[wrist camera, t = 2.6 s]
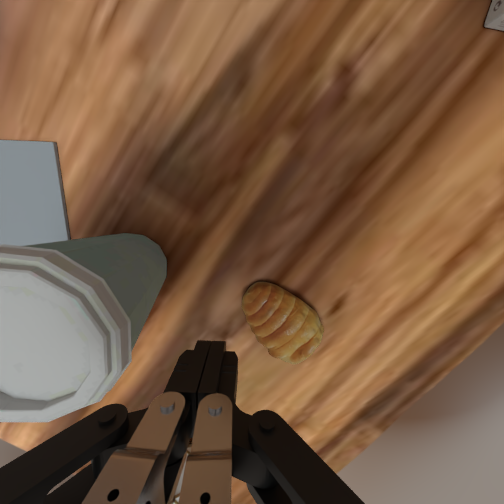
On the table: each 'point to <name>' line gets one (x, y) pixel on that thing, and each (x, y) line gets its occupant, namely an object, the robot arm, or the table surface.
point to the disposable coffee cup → (71, 320)
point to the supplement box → (495, 15)
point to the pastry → (282, 322)
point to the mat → (31, 194)
